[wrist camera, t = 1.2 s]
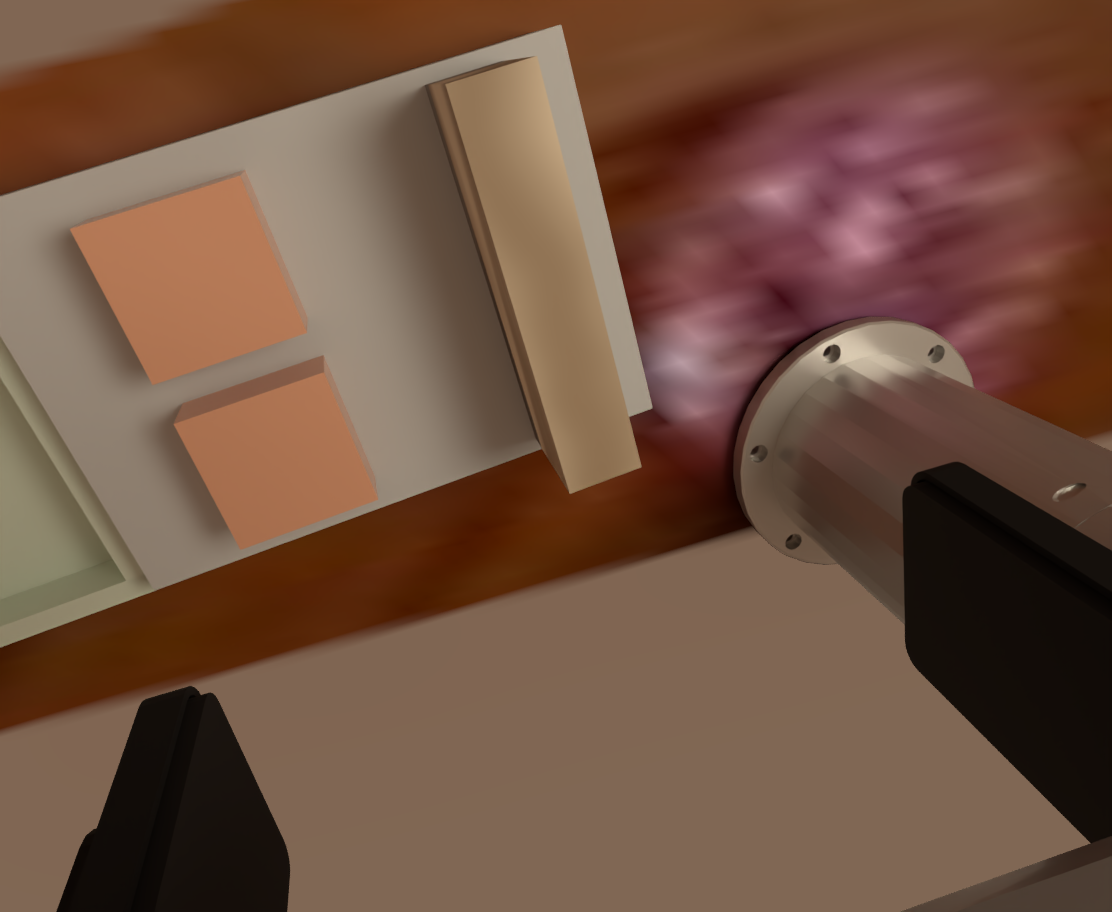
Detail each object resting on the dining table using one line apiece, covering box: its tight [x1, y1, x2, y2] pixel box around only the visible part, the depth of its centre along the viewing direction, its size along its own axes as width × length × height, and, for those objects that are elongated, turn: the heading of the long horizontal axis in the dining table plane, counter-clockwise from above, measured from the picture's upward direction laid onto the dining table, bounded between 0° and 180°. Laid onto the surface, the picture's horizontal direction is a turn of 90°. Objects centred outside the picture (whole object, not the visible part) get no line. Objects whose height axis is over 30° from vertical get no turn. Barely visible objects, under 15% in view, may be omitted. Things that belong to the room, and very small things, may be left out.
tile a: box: [174, 355, 378, 550], centre depth 29 cm, size 5×5×2 cm
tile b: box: [70, 170, 308, 385], centre depth 26 cm, size 5×5×2 cm
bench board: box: [0, 25, 652, 591], centre depth 31 cm, size 20×14×4 cm
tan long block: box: [425, 56, 641, 494], centre depth 28 cm, size 3×13×5 cm, turn 15°
